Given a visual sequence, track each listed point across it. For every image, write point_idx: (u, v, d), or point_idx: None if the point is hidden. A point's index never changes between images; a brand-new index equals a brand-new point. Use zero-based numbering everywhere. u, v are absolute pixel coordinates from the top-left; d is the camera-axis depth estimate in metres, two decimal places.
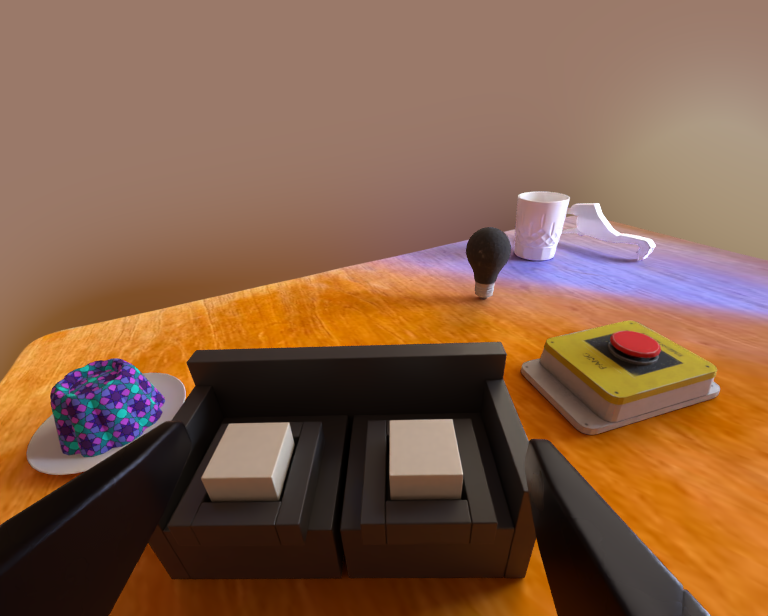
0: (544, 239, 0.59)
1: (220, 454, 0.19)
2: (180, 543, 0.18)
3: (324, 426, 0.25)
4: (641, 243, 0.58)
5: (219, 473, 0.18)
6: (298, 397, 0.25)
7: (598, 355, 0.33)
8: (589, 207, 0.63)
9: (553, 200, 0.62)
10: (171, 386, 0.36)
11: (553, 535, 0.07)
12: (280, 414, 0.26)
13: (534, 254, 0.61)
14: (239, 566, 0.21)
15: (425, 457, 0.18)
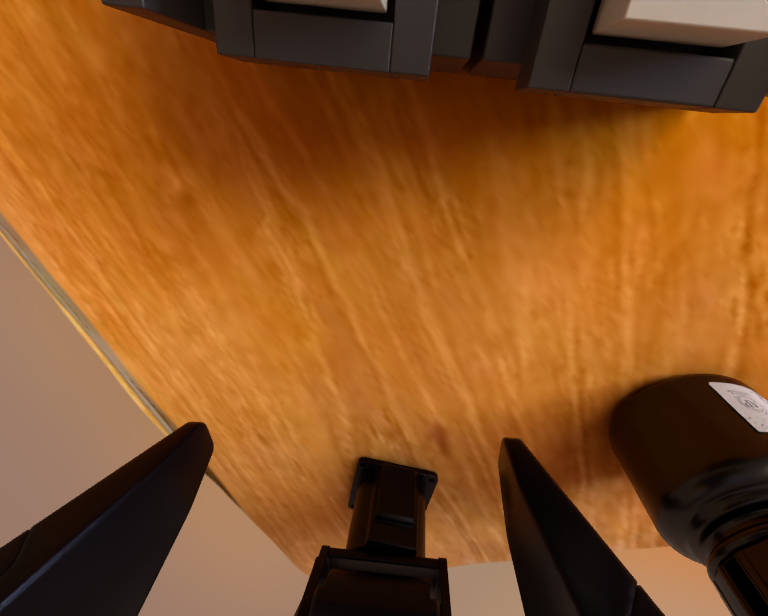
0: None
1: None
2: (245, 61, 0.12)
3: None
4: None
5: None
6: None
7: None
8: None
9: None
10: None
11: (520, 532, 0.07)
12: None
13: None
14: None
15: None
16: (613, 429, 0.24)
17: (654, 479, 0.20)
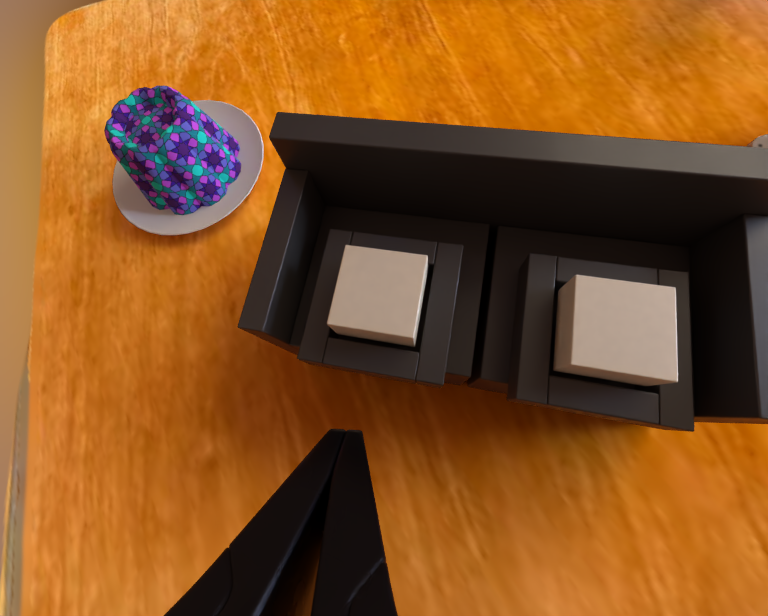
0: None
1: (343, 293, 0.15)
2: None
3: (458, 238, 0.19)
4: None
5: (347, 320, 0.15)
6: (427, 197, 0.18)
7: None
8: None
9: None
10: (242, 125, 0.28)
11: None
12: (398, 211, 0.19)
13: None
14: None
15: (625, 346, 0.13)
16: None
17: None
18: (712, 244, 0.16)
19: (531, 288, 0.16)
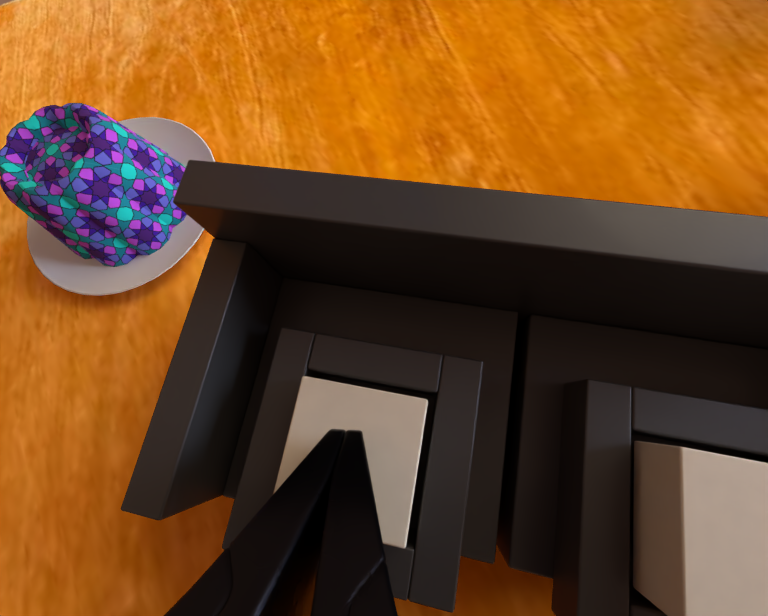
0: None
1: (296, 460, 0.10)
2: None
3: (472, 332, 0.13)
4: None
5: None
6: (427, 281, 0.12)
7: None
8: None
9: None
10: (193, 150, 0.22)
11: None
12: (385, 290, 0.13)
13: None
14: None
15: None
16: None
17: None
18: None
19: (593, 442, 0.10)
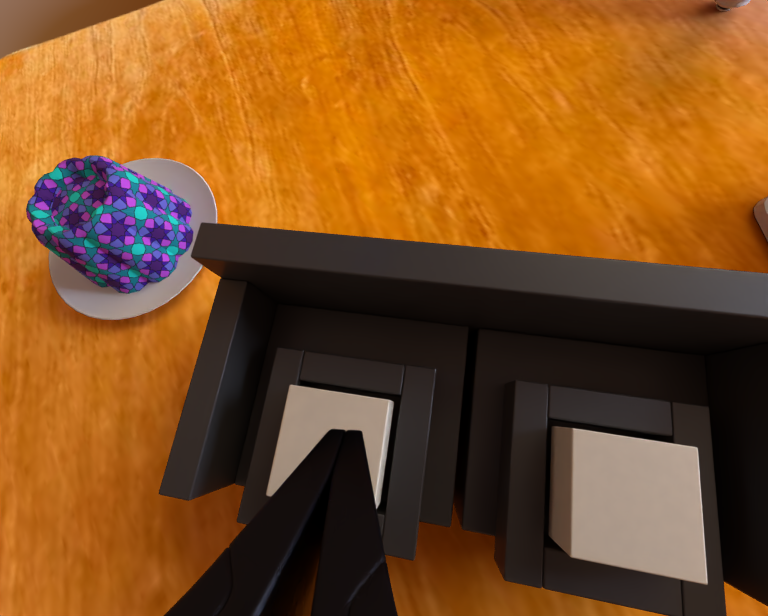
0: None
1: (286, 452, 0.12)
2: None
3: (432, 344, 0.16)
4: None
5: None
6: (392, 306, 0.15)
7: None
8: None
9: None
10: (193, 186, 0.25)
11: None
12: (361, 312, 0.16)
13: None
14: None
15: (638, 532, 0.10)
16: None
17: None
18: (734, 364, 0.13)
19: (519, 428, 0.13)
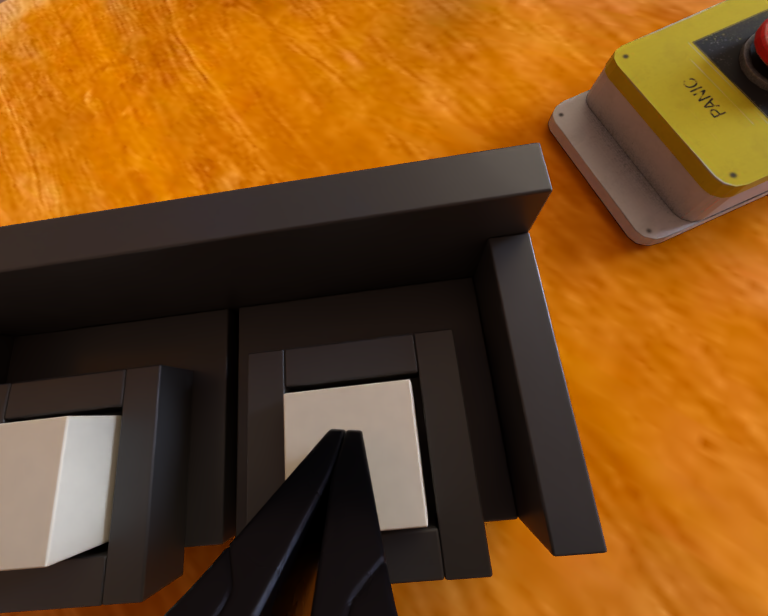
0: None
1: None
2: None
3: (189, 339, 0.14)
4: None
5: None
6: (111, 305, 0.12)
7: (715, 80, 0.17)
8: None
9: None
10: None
11: None
12: (107, 322, 0.14)
13: None
14: None
15: None
16: None
17: None
18: (481, 276, 0.12)
19: (253, 408, 0.11)
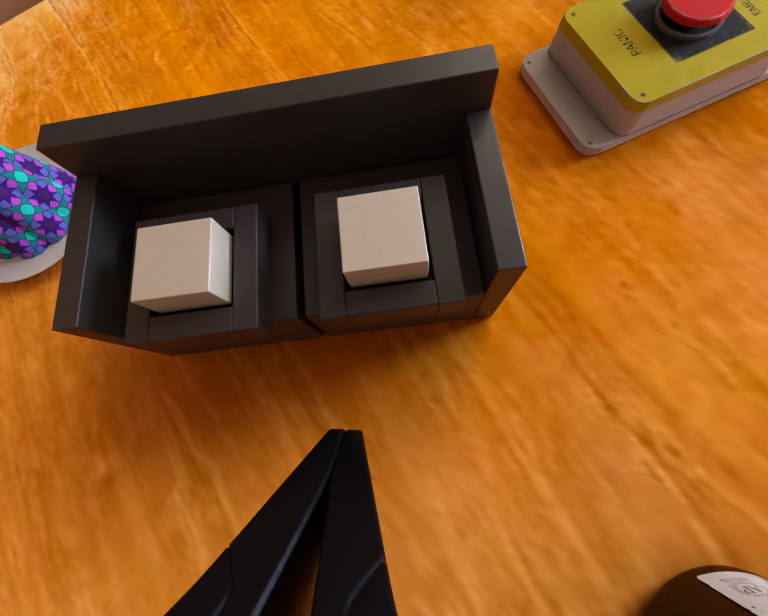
0: None
1: (141, 270, 0.16)
2: (150, 349, 0.18)
3: (266, 201, 0.20)
4: None
5: (148, 293, 0.16)
6: (219, 171, 0.19)
7: (635, 30, 0.23)
8: None
9: None
10: None
11: None
12: (208, 192, 0.21)
13: None
14: (225, 344, 0.22)
15: (384, 244, 0.15)
16: None
17: None
18: (463, 146, 0.18)
19: (319, 223, 0.17)
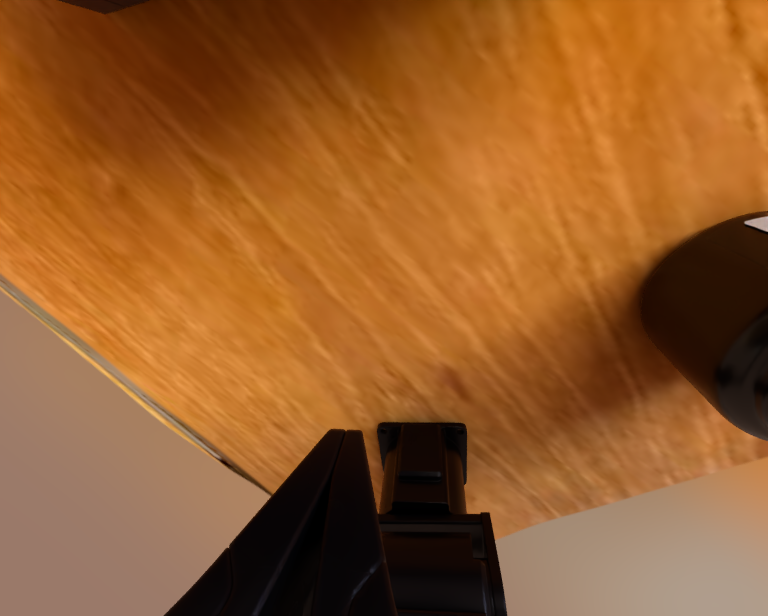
0: None
1: None
2: None
3: None
4: None
5: None
6: None
7: None
8: None
9: None
10: None
11: None
12: None
13: None
14: None
15: None
16: (644, 317, 0.20)
17: (698, 352, 0.16)
18: None
19: None
